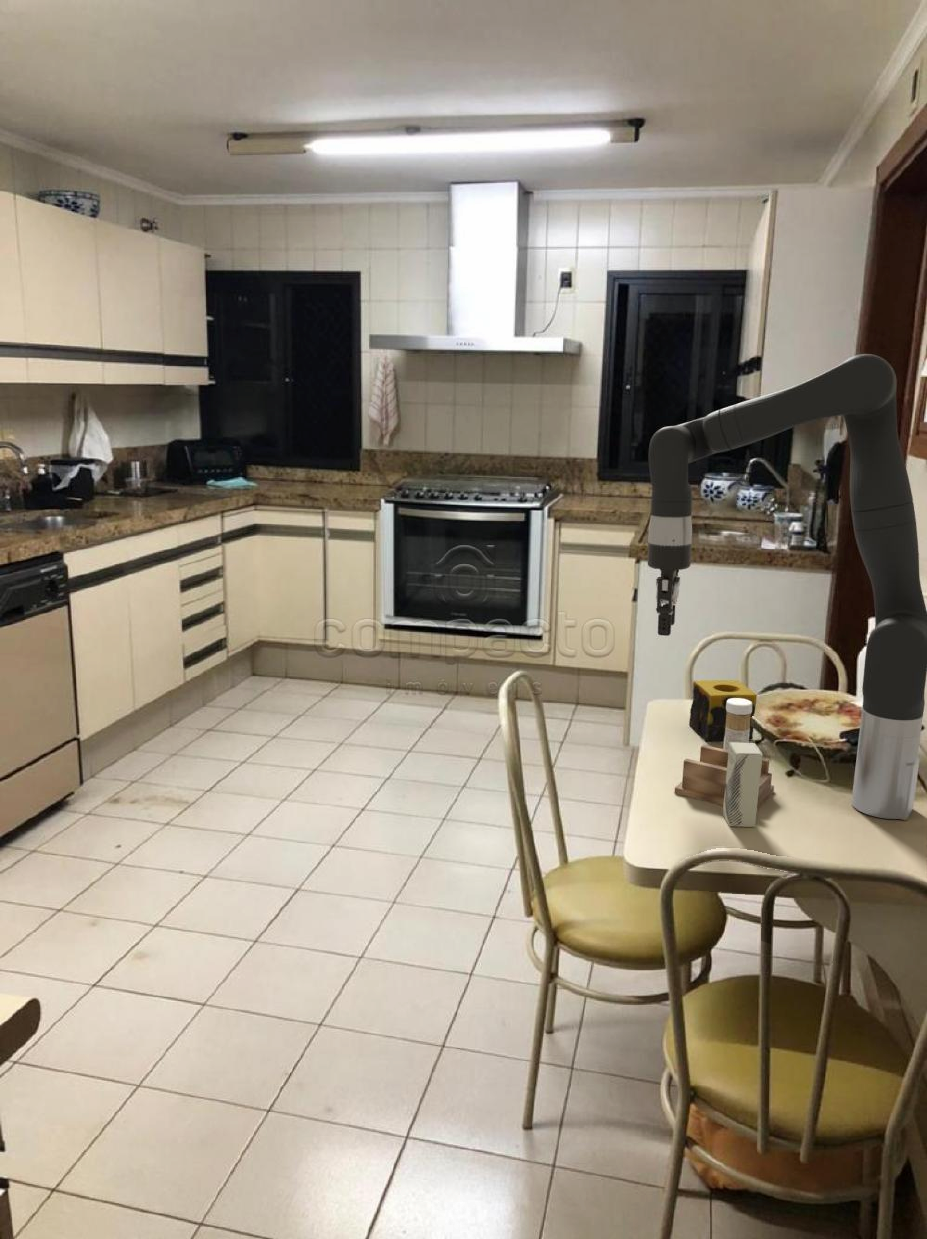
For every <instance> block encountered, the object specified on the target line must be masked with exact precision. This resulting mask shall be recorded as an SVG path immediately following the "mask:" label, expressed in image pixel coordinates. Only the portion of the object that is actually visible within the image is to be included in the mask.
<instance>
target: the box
mask: <svg viewBox="0 0 927 1239" xmlns="http://www.w3.org/2000/svg"><path fill="white" fill-rule="evenodd" d="M762 758H763V752H762V751H761V749H760V748H759V746H757V744H756V743H755V742H749V743H737V742H730V743H729V754H728V764H727V774H726V785H725V795H724V805H722V806H723V807H722V814H723V817H724V819H725V821H726V822H727V824H728V826H729V827H743V828H745V827H746V828H755V827H756V820H757V811H758V809H757V803H758V794H759V785H760V775H761V766H762Z"/></svg>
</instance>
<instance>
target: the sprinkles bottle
mask: <svg viewBox="0 0 927 1239" xmlns="http://www.w3.org/2000/svg"><path fill="white" fill-rule="evenodd" d="M726 710H727V711H726V712H727V715H726V727H725V736H724V741H723V748H722V749H725V750H729V743H730V742H737V743H750V740H749V733H750V715H751V713H752V702H751V701H749V700H747V699H742V698H731V699H728V700H727V703H726Z"/></svg>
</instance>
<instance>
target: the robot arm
mask: <svg viewBox="0 0 927 1239" xmlns="http://www.w3.org/2000/svg"><path fill="white" fill-rule="evenodd" d="M897 383H898V379H897V375H896V372H895V370H894V368H893V366H892V364H890V363H889V362H888V361H887V360H886V359H884V358H883V357H881V356H879V355H876V354H872V353H871V354H870V353H861V354H856V355H853V356H850V357H849V358H847V359H846V360H844V361H843V362H841V363H840V364H838V365H836V366H835V367H832V368H830V369H829V370H826V371H825V372H823V373H821V374H819V375H816V376H814V377H812V378H811V379H808V380H806V381H804V382H801V383H798V384H795V385H793V386H790V387H787V388H785V389H782V390H777V391H775V392H771V393H769V394H765V395H761V396H757V397H754V398H751V399H748V400H743V401H742V402H739V403H736V404H733V405H729V406H727V407H724V408H720V409H718V410H715V411H712V412H711V413H709V414H707V415H706V416H704V417H700V418H697V419H694V420H691V421H687V422H684V423H680V424H677V425H670V426H664V427H661V428H660V429H658V430H657V431H656V432H655V433H654V434H653V435H652V437H651V439H650V441H649V448H648V468H649V469H648V470H649V476H650V484H651V496H650V497H651V498H650V499H651V500H650V517H649V518H650V519H649V524H648V542H647V566H648V567H649V568H652V569H655V570H659V571H660V575H657V578H656V579H655V586H656V587H655V588H656V594H655V600H656V608H655V611H656V613H657V615H658V617H657V618H658V620H657V634H658V635H659V636H665V637H669V636H670V635H671V632H672V626H674V625H675V622H676V621H675V620H676V617H675V616H676V605H677V602H678V598H679V593H680V585H681V576H679V572H680V570H681V571H682V570H687V569H689V568H690V567H691V564H692V562H691V561H692V560H691V558H692V538H693V524H692V512H693V511H692V510H693V508H692V507H693V490H692V486H691V485H690V483H689V464H690V463H694V462H695V461H699V460H701V459H704V458H706V457H710V456H712V455H714V454H717V453H723V452H728V451H732V450H735V449H738V448H741V447H744V446H748V445H751V444H754V443H757V442H759V441H762V440H765V439H767V438H771V437H772V436H775V435H778V434H780V433H782V432H785V431H788V430H789V429H792V428H795V427H798V426H800V425H803V424H804V425H805V423H806V424H807V423H810V422H813V421H817V420H821V419H822V420H823V419H826V418H827V419H828V418H831V417H832V418H833V417H838V416H843V418H844V423H845V427H846V432H847V436H848V441H849V449H850V466H849V467H850V468H849V469H850V470H849V498H850V500H849V501H850V510H851V511H850V512H851V517H852V524H853V531H854V537H855V541H856V544H857V549H858V551H859V554H860V557H861V560H862V563H863V565H864V567H865V569H866V572H867V574H868V577H869V580H870V582H871V588H872V593H873V602H874V617H875V618H874V621H875V622H874V623H875V624H874V627H875V628H873V630H872V631H871V632H870V635H869V636H868V638H867V643H866V649H865V657H864V668H863V677H862V679H863V680H862V707H861V717H860V725H859V734H858V742H857V752H856V758H855V759H856V762H855V768H854V777H853V787H852V793H851V795H852V796H851V804H852V806H853V808H854V809H856V810H857V811H859V812H860V813H864V814H866V815H868V816H870V817H871V816H872V817H876V818H880V819H881V818H882V819H888V820H889V819H891V820H892V819H894V820H897V819H899V820H903V821H907V820H908V818H909V817H910V815H911V813H912V811H913V809H914V805H915V804H914V803H915V797H916V789H917V782H918V781H917V780H918V773H919V766H920V759H921V758H920V755H919V749H920V748H919V747H920V741H921V733H922V727H923V726H922V725H923V720H924V719H923V718H924V711H925V710H924V709H925V703H926V702H925V701H926V700H925V689H926V682H927V607H926V603H925V598H924V594H923V590H922V585H921V584H922V583H921V578H920V576H921V575H920V553H919V540H918V539H919V538H918V530H917V529H918V528H917V519H916V512H915V504H914V498H913V492H912V488H911V484H910V479H909V474H908V470H907V467H906V462H905V460H904V455H903V452H902V448H901V444H900V439H899V433H898V430H899V429H898V417H897V416H898V415H897V413H898V412H897Z"/></svg>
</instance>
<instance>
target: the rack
mask: <svg viewBox="0 0 927 1239" xmlns="http://www.w3.org/2000/svg"><path fill="white" fill-rule="evenodd" d="M699 754H700V756H699V761H698V760H694V759H690V758H685V759H684V760H683V766H682V767H683V768H682V769H683V770H682V781H681V782H680V783H678V784H677V785H676V786H675V787H674V792H673V793H674V794H675V795H676V794H677V795H681V796H685V797H688V798H689V797H690V798H693V799H697V800H701V801H704V802H708V803H712V804H717V805H721V806H723V805H724V795H725V785H726V774H727V764H728V754H729V750H725V749H723V748H720V747H714V746H710V745H706V744H703V745H701V746H700V753H699ZM769 768H770V758H765V757H762V766H761V775H760V785H759V794H758V803H757V810H758V809H759V808H760V807H761V806H762V805H763V804H764V802H766V800H767V799H768V798H769V797H770V796H771V795H772V794H773V792H774V791H775V785H772V779H773V778H772V776H773V774H772V773H771V772H769Z"/></svg>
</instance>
